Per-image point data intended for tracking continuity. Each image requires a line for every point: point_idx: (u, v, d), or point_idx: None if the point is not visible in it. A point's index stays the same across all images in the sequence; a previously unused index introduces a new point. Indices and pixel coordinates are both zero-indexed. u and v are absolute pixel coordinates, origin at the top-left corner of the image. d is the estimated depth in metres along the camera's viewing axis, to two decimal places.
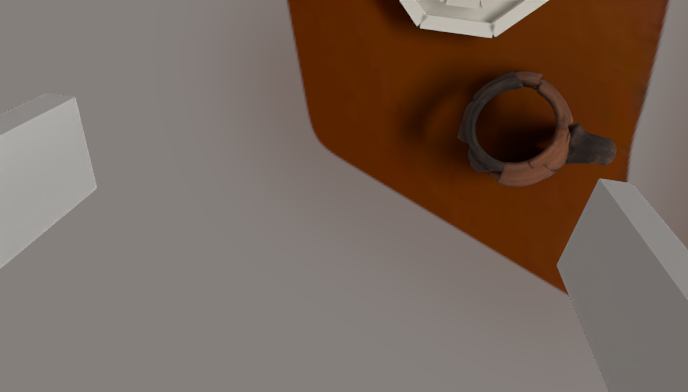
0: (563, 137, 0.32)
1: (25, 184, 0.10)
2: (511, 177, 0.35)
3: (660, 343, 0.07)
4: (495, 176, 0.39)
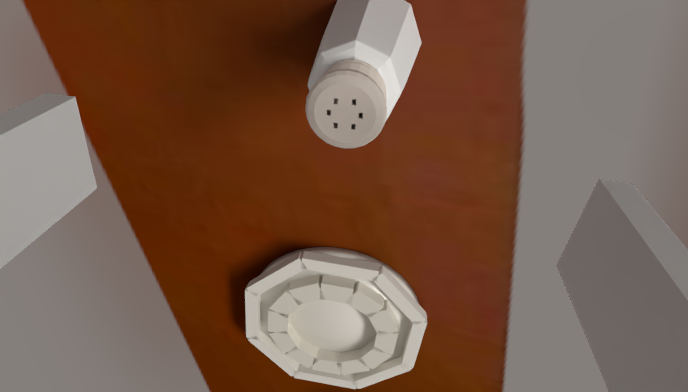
0: None
1: (25, 184, 0.10)
2: None
3: (660, 343, 0.07)
4: None
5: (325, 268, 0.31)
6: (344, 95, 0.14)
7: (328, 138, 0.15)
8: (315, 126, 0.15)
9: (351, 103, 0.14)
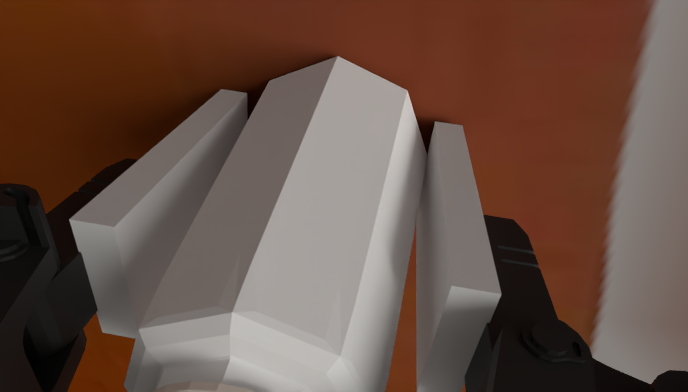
0: None
1: (220, 168, 0.11)
2: None
3: (432, 234, 0.09)
4: None
5: None
6: None
7: None
8: None
9: None
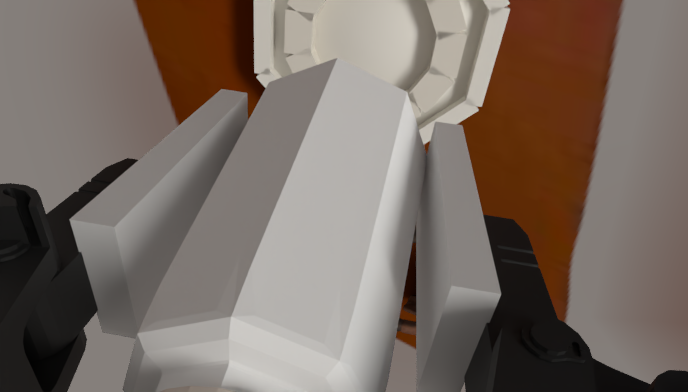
0: None
1: (221, 168, 0.11)
2: None
3: (432, 234, 0.09)
4: (409, 311, 0.36)
5: None
6: None
7: None
8: None
9: None
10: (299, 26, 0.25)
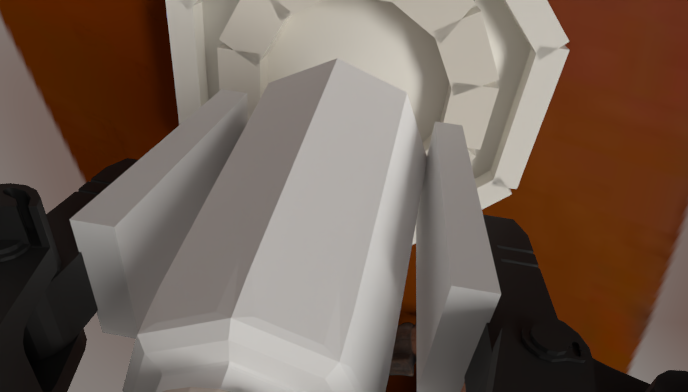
0: None
1: (221, 168, 0.11)
2: None
3: (432, 234, 0.09)
4: None
5: None
6: None
7: None
8: None
9: None
10: (240, 72, 0.16)
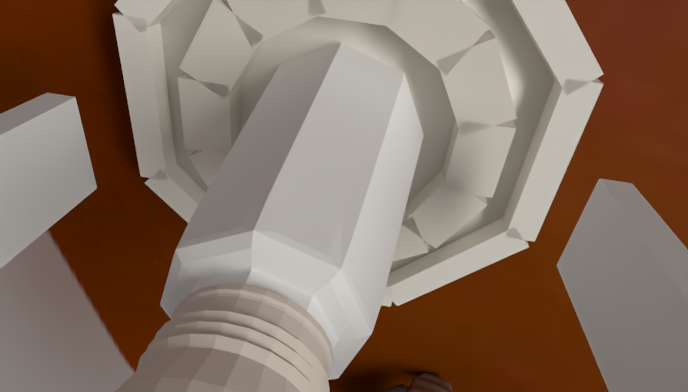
0: None
1: (25, 184, 0.10)
2: None
3: (660, 343, 0.07)
4: None
5: None
6: None
7: None
8: None
9: None
10: (206, 106, 0.14)
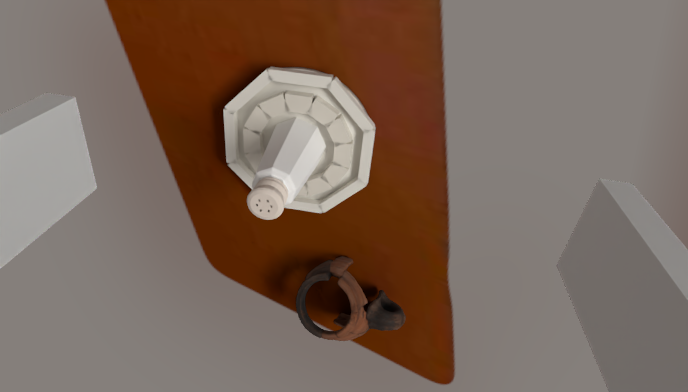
0: (355, 319, 0.45)
1: (25, 184, 0.10)
2: None
3: (660, 343, 0.07)
4: (337, 324, 0.52)
5: (288, 78, 0.37)
6: (263, 198, 0.32)
7: (258, 215, 0.33)
8: (251, 210, 0.33)
9: (266, 201, 0.32)
10: (252, 138, 0.41)
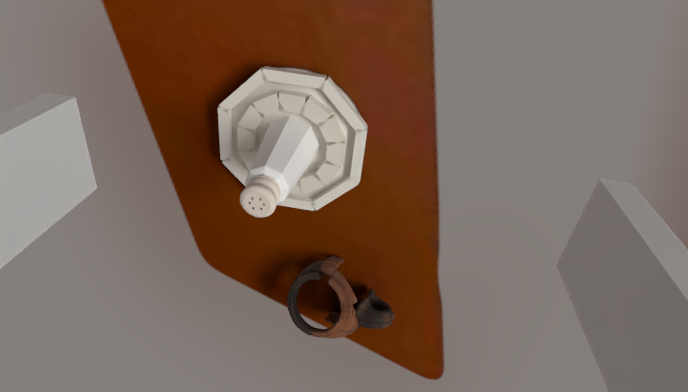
0: (344, 317, 0.46)
1: (25, 184, 0.10)
2: None
3: (660, 343, 0.07)
4: (328, 322, 0.53)
5: (281, 78, 0.38)
6: (255, 196, 0.32)
7: (250, 213, 0.33)
8: (244, 208, 0.33)
9: (259, 199, 0.32)
10: (246, 136, 0.41)
